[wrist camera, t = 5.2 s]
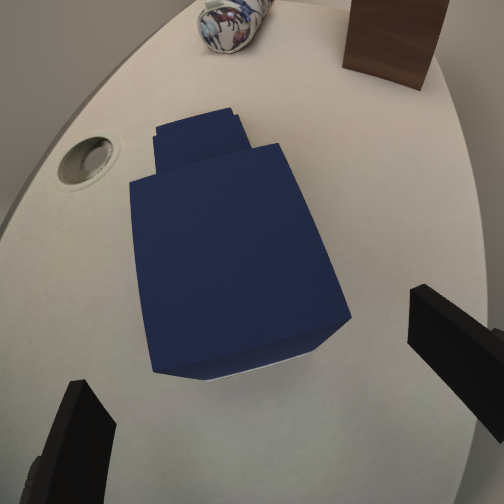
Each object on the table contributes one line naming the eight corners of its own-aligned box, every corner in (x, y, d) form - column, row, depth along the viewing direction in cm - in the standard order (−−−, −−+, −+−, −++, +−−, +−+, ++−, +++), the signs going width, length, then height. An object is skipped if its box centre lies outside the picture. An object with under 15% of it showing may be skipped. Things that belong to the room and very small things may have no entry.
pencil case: (253, 56, 39) (250, 0, 30) (199, 55, 40) (190, 2, 31) (276, 12, 48) (276, -28, 39) (235, 11, 49) (232, -28, 40)
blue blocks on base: (312, 352, 22) (357, 316, 11) (207, 381, 21) (148, 373, 10) (238, 139, 31) (227, 39, 20) (164, 159, 30) (128, 65, 19)
